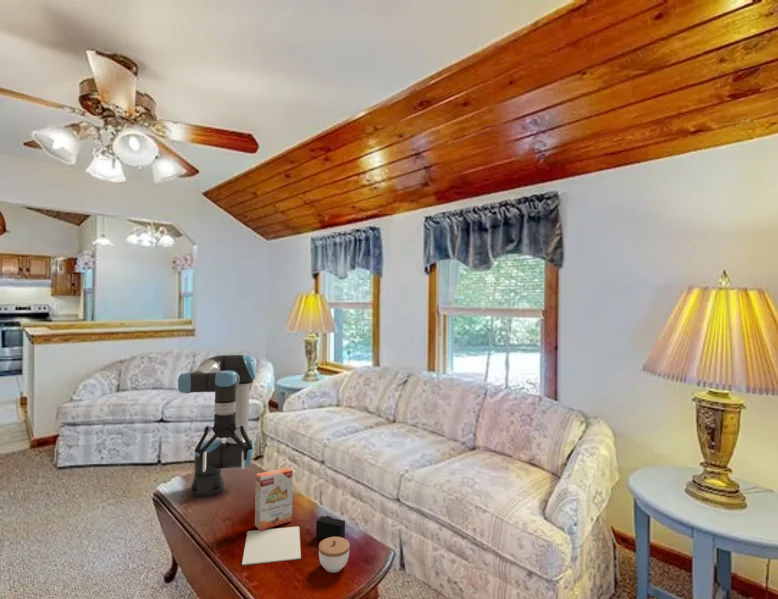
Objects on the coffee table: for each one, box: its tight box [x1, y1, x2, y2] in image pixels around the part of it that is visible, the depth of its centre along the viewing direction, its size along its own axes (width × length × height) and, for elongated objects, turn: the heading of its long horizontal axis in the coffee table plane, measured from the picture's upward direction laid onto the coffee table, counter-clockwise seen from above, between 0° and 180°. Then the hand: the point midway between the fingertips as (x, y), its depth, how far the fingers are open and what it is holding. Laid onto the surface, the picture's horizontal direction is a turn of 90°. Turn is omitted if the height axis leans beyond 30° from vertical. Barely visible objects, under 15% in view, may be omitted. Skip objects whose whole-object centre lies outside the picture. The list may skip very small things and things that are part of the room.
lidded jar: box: [318, 537, 351, 574], centre depth 150 cm, size 11×11×9 cm
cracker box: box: [254, 467, 293, 531], centre depth 178 cm, size 14×6×21 cm, turn 128°
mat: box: [241, 526, 302, 566], centre depth 163 cm, size 22×20×1 cm
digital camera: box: [315, 515, 346, 541], centre depth 168 cm, size 10×5×7 cm, turn 71°
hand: (223, 469), depth 162 cm, fingers open, 13 cm apart
